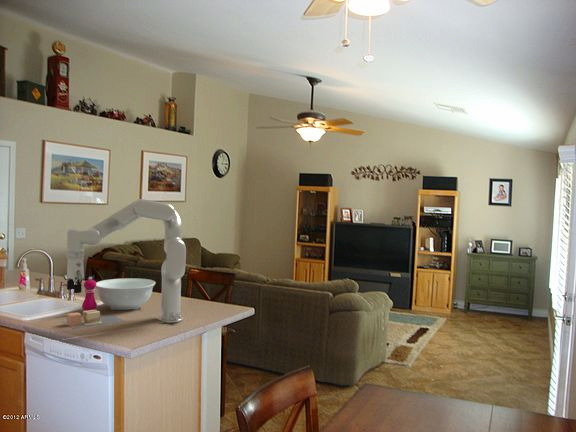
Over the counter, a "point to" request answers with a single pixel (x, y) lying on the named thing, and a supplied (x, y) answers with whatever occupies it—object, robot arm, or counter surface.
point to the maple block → (91, 316)
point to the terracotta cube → (74, 319)
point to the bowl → (125, 292)
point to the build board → (102, 321)
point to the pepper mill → (89, 295)
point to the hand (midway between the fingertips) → (74, 291)
